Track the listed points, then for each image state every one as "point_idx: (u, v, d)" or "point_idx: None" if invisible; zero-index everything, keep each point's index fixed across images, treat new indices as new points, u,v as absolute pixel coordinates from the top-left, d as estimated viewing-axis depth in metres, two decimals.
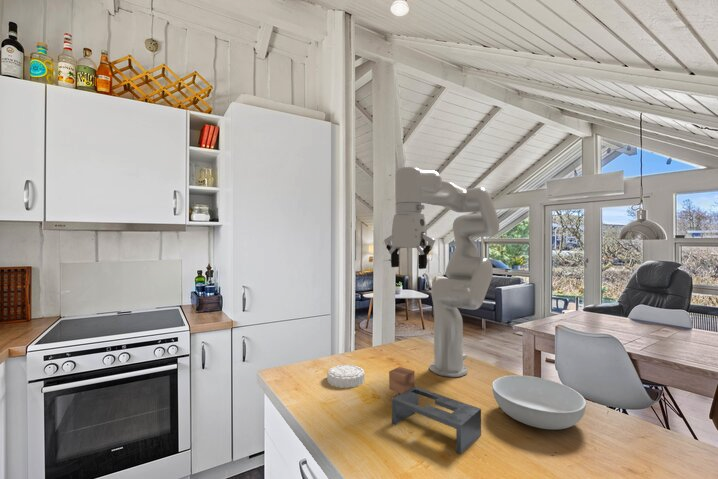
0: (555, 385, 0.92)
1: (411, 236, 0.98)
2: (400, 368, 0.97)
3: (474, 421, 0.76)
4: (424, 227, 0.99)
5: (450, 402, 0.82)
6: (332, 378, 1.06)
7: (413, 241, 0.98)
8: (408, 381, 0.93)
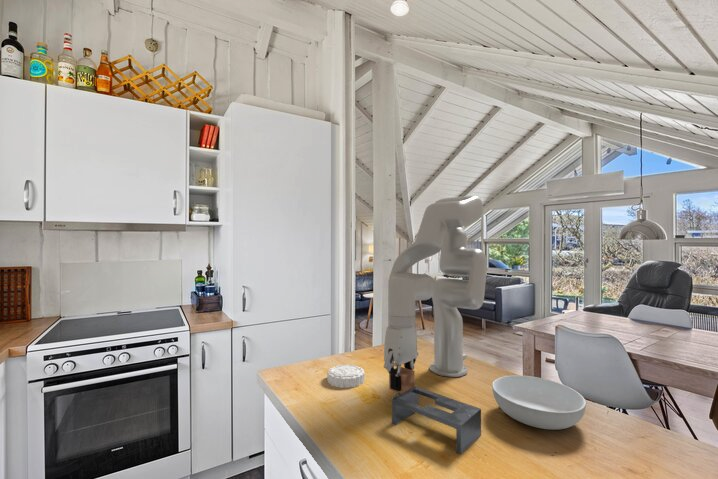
0: (555, 385, 0.92)
1: (414, 348, 0.96)
2: (400, 368, 0.97)
3: (474, 421, 0.76)
4: None
5: (450, 402, 0.82)
6: (332, 378, 1.06)
7: (414, 353, 0.96)
8: (408, 381, 0.93)
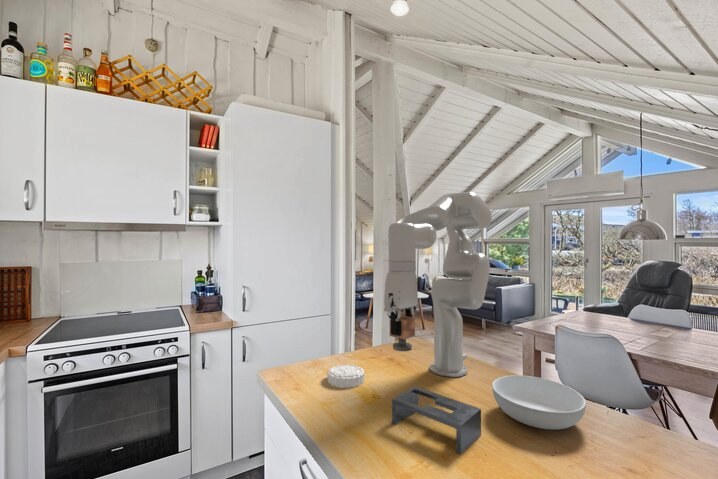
0: (555, 385, 0.92)
1: (414, 295, 0.95)
2: (400, 316, 0.97)
3: (474, 421, 0.76)
4: None
5: (450, 402, 0.82)
6: (332, 378, 1.06)
7: (415, 300, 0.96)
8: (408, 327, 0.93)
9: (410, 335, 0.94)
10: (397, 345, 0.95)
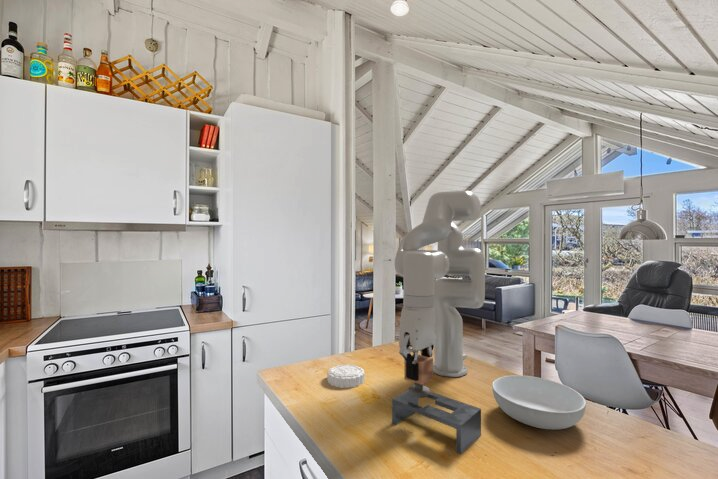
0: (555, 385, 0.92)
1: (432, 333, 0.85)
2: None
3: (474, 421, 0.76)
4: None
5: (450, 402, 0.82)
6: (332, 378, 1.06)
7: (433, 338, 0.85)
8: (426, 370, 0.82)
9: (428, 379, 0.83)
10: (413, 389, 0.84)
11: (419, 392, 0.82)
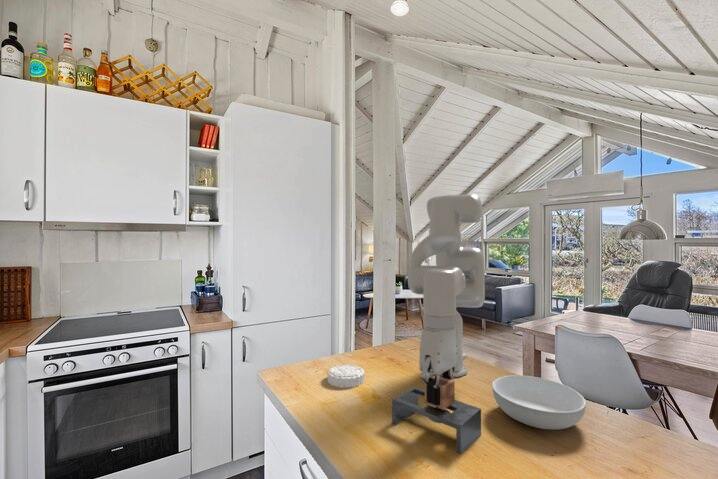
0: (555, 385, 0.92)
1: (454, 354, 0.81)
2: None
3: (474, 421, 0.76)
4: None
5: None
6: (332, 378, 1.06)
7: (454, 360, 0.81)
8: (448, 394, 0.78)
9: (450, 403, 0.79)
10: None
11: None
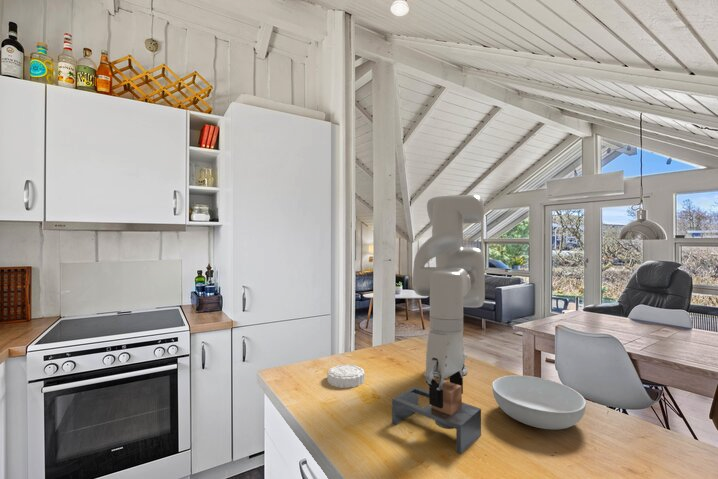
0: (555, 385, 0.92)
1: (461, 357, 0.80)
2: (443, 382, 0.81)
3: (474, 421, 0.76)
4: None
5: None
6: (332, 378, 1.06)
7: (461, 363, 0.80)
8: (455, 399, 0.77)
9: (457, 408, 0.78)
10: None
11: None
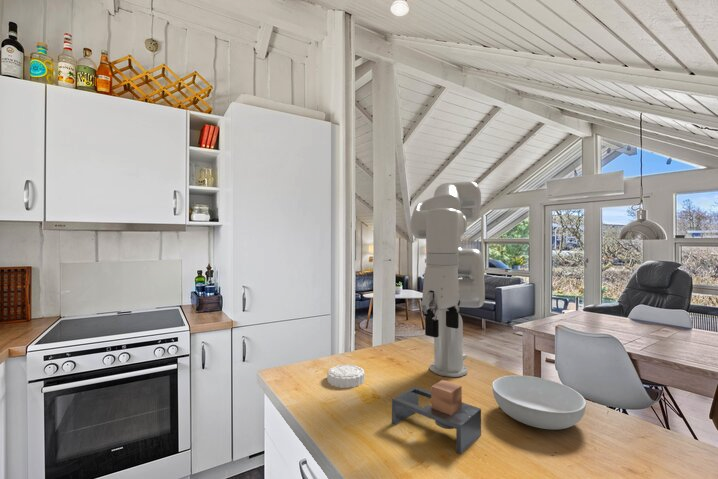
0: (555, 385, 0.92)
1: (456, 293, 0.82)
2: (443, 382, 0.81)
3: (474, 421, 0.76)
4: None
5: None
6: (332, 378, 1.06)
7: (456, 298, 0.83)
8: (455, 399, 0.77)
9: (457, 408, 0.78)
10: None
11: None
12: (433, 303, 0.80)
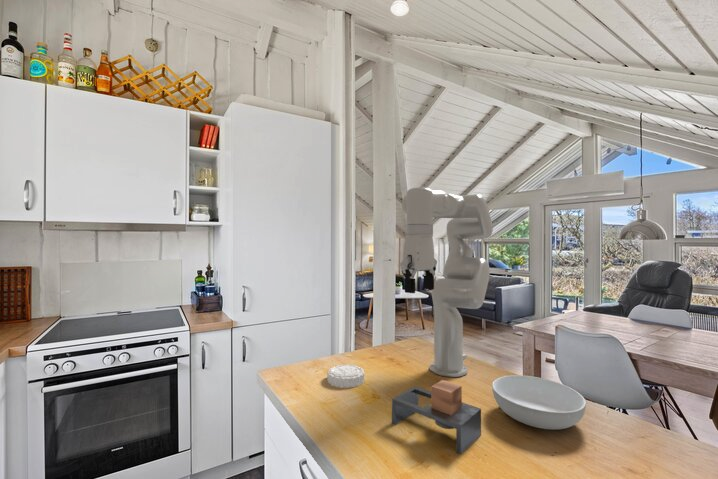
0: (555, 385, 0.92)
1: (431, 258, 0.99)
2: (443, 382, 0.81)
3: (474, 421, 0.76)
4: None
5: None
6: (332, 378, 1.06)
7: (432, 263, 0.99)
8: (455, 399, 0.77)
9: (457, 408, 0.78)
10: None
11: None
12: (411, 266, 0.96)
